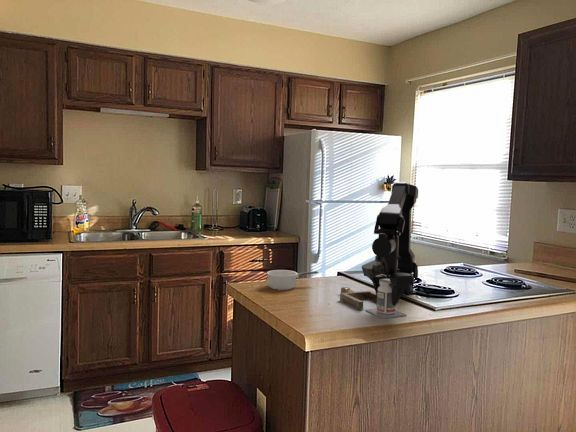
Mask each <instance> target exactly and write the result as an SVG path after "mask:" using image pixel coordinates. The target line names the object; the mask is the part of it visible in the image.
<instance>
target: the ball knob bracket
mask: <svg viewBox="0 0 576 432" xmlns="http://www.w3.org/2000/svg"><path fill="white" fill-rule="evenodd" d="M339 300H340V302H342V303H344V304H347V306H348V305H349V306H351V308H355V309H356V310H364V301H363V300H370V301H372V302H375V303H377V296H376V292H375V291H373V290H369V289H368V290H360V291H354V290H352V289H351V287H347V286H343V287H340V293H339Z"/></svg>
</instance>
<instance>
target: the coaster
mask: <svg viewBox="0 0 576 432" xmlns="http://www.w3.org/2000/svg"><path fill="white" fill-rule="evenodd" d="M365 311H366V312H368V313H370V314H372V315H374V316H376V317H377V318H380V319H382V320H383V319H392V318H401V317H407V316H408V314H407V313H405V312H401V311H399V310H398V309H396V310H395V313H393V314H383V313H379V312H378V311H377V307H375V308H368V309H367V308H366V309H365Z"/></svg>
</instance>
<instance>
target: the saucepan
mask: <svg viewBox="0 0 576 432" xmlns="http://www.w3.org/2000/svg"><path fill="white" fill-rule="evenodd" d="M266 274H267V286H268V287H269V288H271V289H272V290H276V289H277V291H288V290H292V289H293V288H296V286H297V279H300V278H302V277H303V276H307V275H313V274H314V275H315V274H319V271H317V270H315V271H305V272H296V271H294V270H288V269H272V270H268V271H267V272H266Z"/></svg>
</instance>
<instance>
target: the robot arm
mask: <svg viewBox="0 0 576 432" xmlns="http://www.w3.org/2000/svg"><path fill="white" fill-rule="evenodd" d="M417 199H419V188H418V186H416V185H413V184H410V183H409V182H407V181H396V182H393V184H392V185H391V195H390V197H389V200H388V202H387V205H386V206H384V207H382V208H381V210H380V211H379V214H377V216H376V220H375V225H374V231H373V234H374V235H378V237H377V238H375V239H374V241H373V242H372V244H371V250H372V252H373V254H374V255H375V258H374V260H372V261H371V260H370V261H368V262H367V263H364V264H363V265H361V270H362V274H363V277H367V278H368V279H370V281H371V282H372V285H373V287H374V288H373V289H374V292H375V293H376V296H377V291H378V287H380V284H379V280H380V279H390V282H391V284H388V285H389V286H390V287H391V289H392V305H396V306H397V304H398V303H399V300H400V298H401V297H402V296H403V295H402V294H405V295H413V293H417V292H416V291H414V284H415V278H417V279H418V278H419V267H418V264H417V261H416V259H415V258H416V257H415V254H414V252H413V250H412V249H411V244H412V243H411V238H412V236H411V235H412V209H413V208H414V206H415V205H416V203H417Z"/></svg>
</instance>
